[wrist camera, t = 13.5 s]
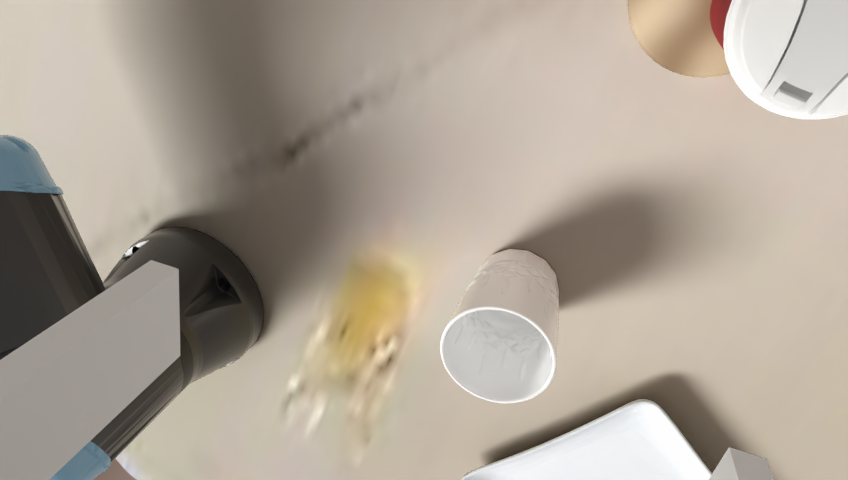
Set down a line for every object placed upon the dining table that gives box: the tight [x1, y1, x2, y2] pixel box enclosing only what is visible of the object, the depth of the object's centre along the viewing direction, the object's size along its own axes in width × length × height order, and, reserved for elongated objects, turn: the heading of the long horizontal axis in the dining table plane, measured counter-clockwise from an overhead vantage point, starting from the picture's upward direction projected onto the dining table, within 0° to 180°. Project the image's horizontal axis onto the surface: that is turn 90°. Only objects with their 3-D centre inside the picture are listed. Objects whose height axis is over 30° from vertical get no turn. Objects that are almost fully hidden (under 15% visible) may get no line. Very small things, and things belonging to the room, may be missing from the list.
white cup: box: [440, 249, 559, 403], centre depth 42 cm, size 8×8×10 cm
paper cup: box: [710, 0, 848, 119], centre depth 27 cm, size 8×8×14 cm
